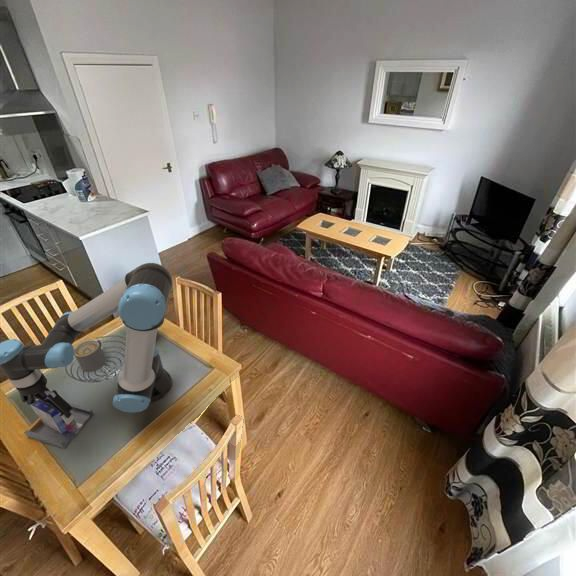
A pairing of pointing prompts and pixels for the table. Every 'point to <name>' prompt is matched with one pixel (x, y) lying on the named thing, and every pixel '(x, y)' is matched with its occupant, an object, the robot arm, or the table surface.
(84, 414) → the grey tray
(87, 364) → the coffee mug
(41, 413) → the ink cartridge box
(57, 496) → the table surface
